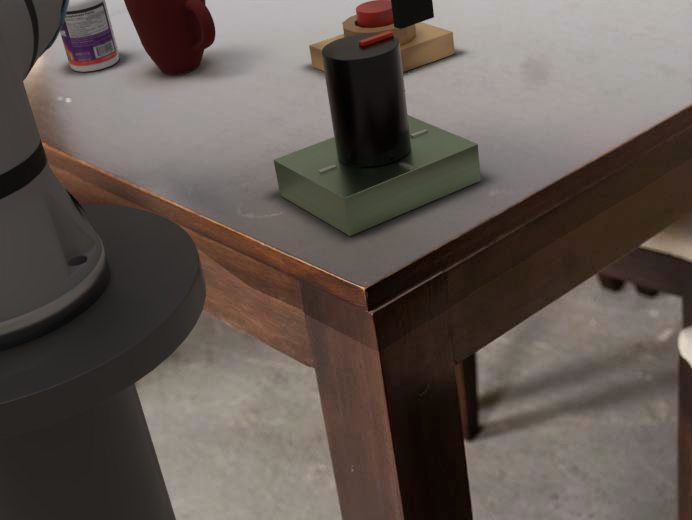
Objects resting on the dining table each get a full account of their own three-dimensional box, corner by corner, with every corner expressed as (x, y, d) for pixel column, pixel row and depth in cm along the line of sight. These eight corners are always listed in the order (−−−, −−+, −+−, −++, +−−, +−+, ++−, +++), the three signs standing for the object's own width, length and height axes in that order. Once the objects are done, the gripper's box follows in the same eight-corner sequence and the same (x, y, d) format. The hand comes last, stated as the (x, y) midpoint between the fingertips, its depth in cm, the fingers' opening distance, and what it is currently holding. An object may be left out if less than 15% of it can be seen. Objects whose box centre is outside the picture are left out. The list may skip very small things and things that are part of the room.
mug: (253, 61, 114) (234, -40, 108) (199, 89, 109) (176, -15, 103) (180, 51, 119) (159, -45, 114) (126, 77, 114) (100, -22, 108)
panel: (349, 236, 79) (343, 196, 77) (279, 195, 86) (272, 157, 84) (480, 180, 84) (478, 141, 82) (404, 146, 91) (400, 109, 89)
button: (373, 33, 105) (370, 15, 104) (350, 25, 108) (347, 7, 106) (407, 22, 106) (405, 3, 105) (383, 14, 109) (381, -4, 108)
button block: (362, 87, 103) (356, 45, 101) (312, 67, 110) (305, 26, 108) (454, 54, 108) (451, 12, 106) (401, 36, 114) (397, -3, 112)
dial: (364, 173, 80) (348, 61, 75) (323, 153, 84) (306, 45, 79) (426, 149, 82) (414, 38, 78) (383, 130, 86) (370, 23, 82)
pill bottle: (74, 59, 121) (48, -32, 116) (122, 52, 121) (99, -39, 116) (67, 75, 117) (40, -18, 111) (117, 68, 117) (92, -26, 112)
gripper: (488, -386, 58) (514, 21, 70) (256, -354, 75) (309, -34, 87) (371, -366, 55) (419, 56, 67) (158, -337, 72) (226, -8, 84)
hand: (357, 5), depth 77 cm, fingers open, 13 cm apart
